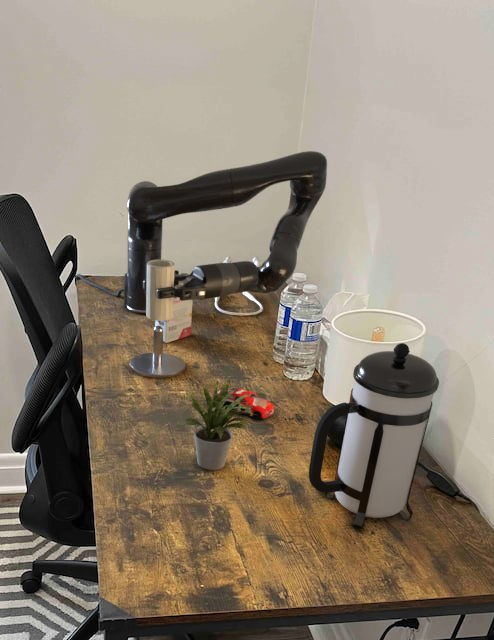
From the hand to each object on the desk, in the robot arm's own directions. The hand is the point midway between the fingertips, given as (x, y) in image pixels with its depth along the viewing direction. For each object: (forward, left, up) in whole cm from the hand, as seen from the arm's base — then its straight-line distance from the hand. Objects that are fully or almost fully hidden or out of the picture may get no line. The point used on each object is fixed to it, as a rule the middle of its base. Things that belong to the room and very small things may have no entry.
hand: (150, 289), depth 162 cm
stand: (+1, +2, -19) cm, 19 cm away
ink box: (-6, +20, -19) cm, 28 cm away
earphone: (-5, +53, -19) cm, 57 cm away
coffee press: (+62, -27, -19) cm, 70 cm away
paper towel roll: (+1, +2, -6) cm, 7 cm away
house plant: (+33, -30, -19) cm, 49 cm away
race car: (+28, -6, -19) cm, 34 cm away
